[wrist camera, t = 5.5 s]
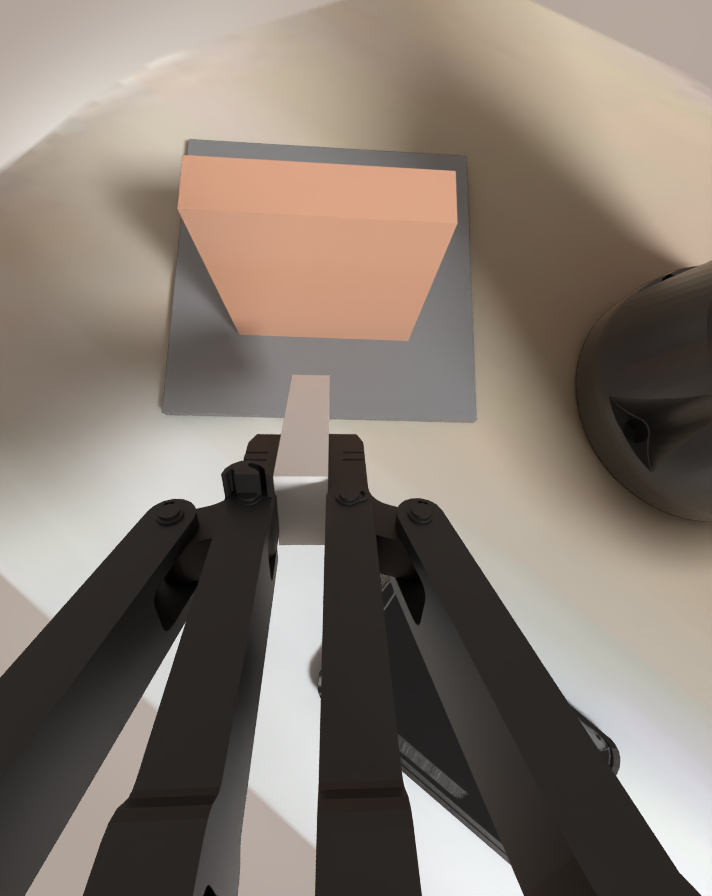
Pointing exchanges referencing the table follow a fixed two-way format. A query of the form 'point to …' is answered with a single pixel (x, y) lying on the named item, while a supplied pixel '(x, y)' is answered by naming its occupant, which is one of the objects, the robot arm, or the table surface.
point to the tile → (319, 243)
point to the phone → (442, 731)
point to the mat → (346, 360)
